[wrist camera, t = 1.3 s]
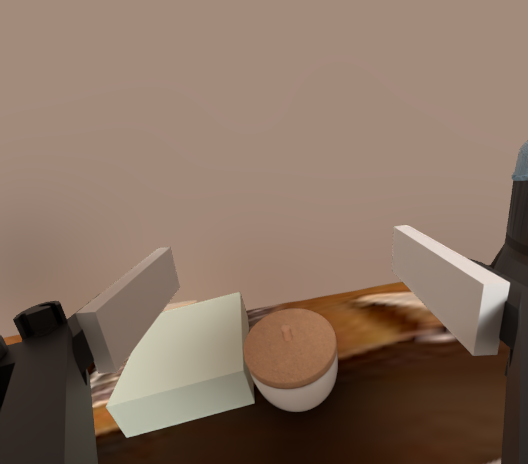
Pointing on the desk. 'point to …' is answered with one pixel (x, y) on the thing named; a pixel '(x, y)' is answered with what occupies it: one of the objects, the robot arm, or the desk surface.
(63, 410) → the robot arm
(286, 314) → the lidded jar
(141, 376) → the sage box
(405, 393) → the desk surface
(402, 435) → the desk surface
